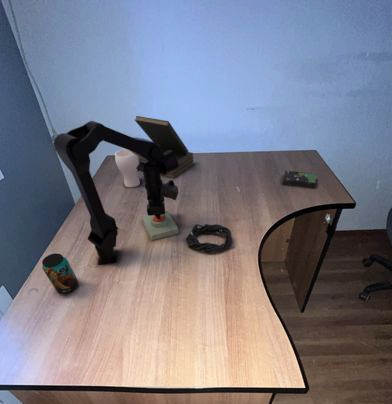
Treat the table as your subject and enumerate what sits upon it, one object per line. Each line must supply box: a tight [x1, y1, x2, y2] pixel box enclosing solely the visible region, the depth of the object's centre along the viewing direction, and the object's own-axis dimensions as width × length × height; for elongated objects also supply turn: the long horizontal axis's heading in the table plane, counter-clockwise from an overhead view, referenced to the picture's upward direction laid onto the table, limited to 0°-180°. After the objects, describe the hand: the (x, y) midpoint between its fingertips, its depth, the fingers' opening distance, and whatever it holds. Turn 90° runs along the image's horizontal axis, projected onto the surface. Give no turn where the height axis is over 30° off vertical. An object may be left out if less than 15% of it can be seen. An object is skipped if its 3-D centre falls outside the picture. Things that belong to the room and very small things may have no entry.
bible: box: [134, 115, 194, 180], centre depth 136 cm, size 23×20×25 cm
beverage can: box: [41, 252, 80, 295], centre depth 81 cm, size 7×7×12 cm
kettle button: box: [154, 216, 164, 222], centre depth 104 cm, size 4×4×2 cm
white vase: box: [114, 148, 141, 188], centre depth 127 cm, size 11×11×15 cm
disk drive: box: [281, 170, 317, 188], centre depth 128 cm, size 10×3×15 cm
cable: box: [185, 223, 233, 254], centre depth 97 cm, size 17×14×4 cm
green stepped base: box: [141, 210, 180, 241], centre depth 105 cm, size 14×11×4 cm
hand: (158, 218), depth 103 cm, fingers closed, pressing on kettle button
